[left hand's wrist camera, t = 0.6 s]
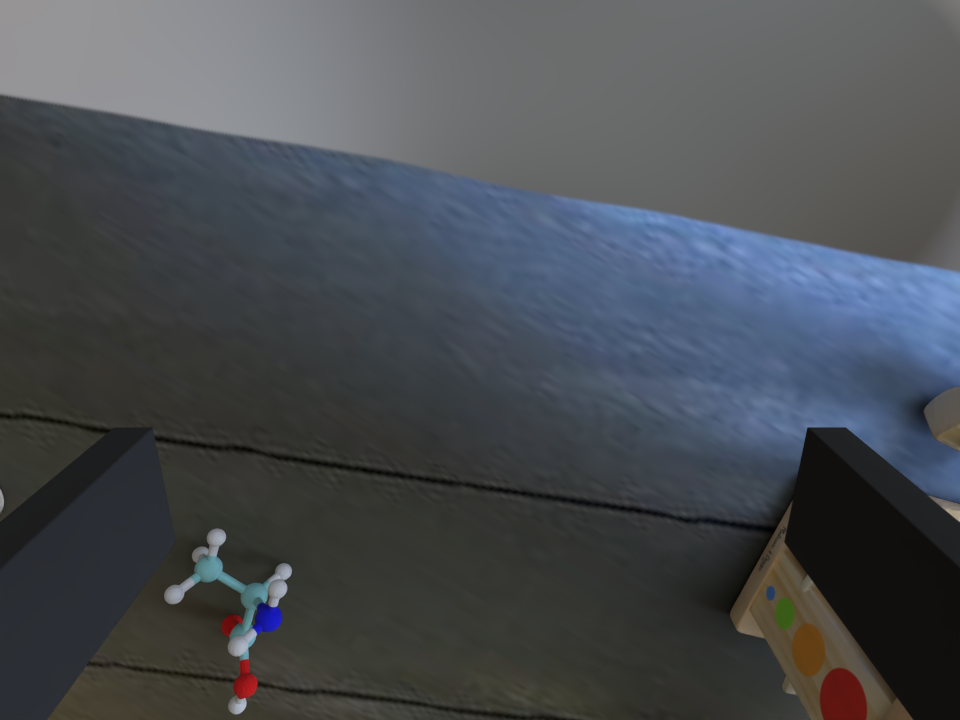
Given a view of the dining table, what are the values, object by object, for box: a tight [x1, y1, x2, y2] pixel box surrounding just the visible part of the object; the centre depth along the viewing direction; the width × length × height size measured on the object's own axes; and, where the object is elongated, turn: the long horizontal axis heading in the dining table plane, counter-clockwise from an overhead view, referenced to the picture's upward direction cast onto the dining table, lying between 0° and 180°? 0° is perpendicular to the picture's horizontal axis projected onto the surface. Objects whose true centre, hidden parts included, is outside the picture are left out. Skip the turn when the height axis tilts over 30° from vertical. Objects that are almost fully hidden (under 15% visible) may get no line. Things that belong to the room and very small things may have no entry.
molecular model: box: [164, 529, 292, 714], centre depth 44 cm, size 12×10×10 cm
